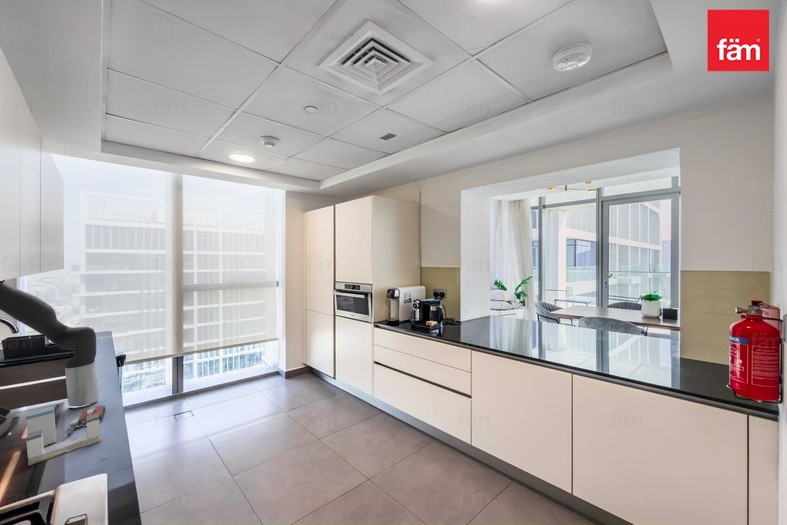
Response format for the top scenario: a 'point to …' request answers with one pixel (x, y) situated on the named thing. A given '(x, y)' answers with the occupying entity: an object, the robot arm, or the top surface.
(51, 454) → the wood panel
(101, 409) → the walkie-talkie
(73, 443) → the rail
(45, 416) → the block
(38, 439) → the mounted modules
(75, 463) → the top surface
